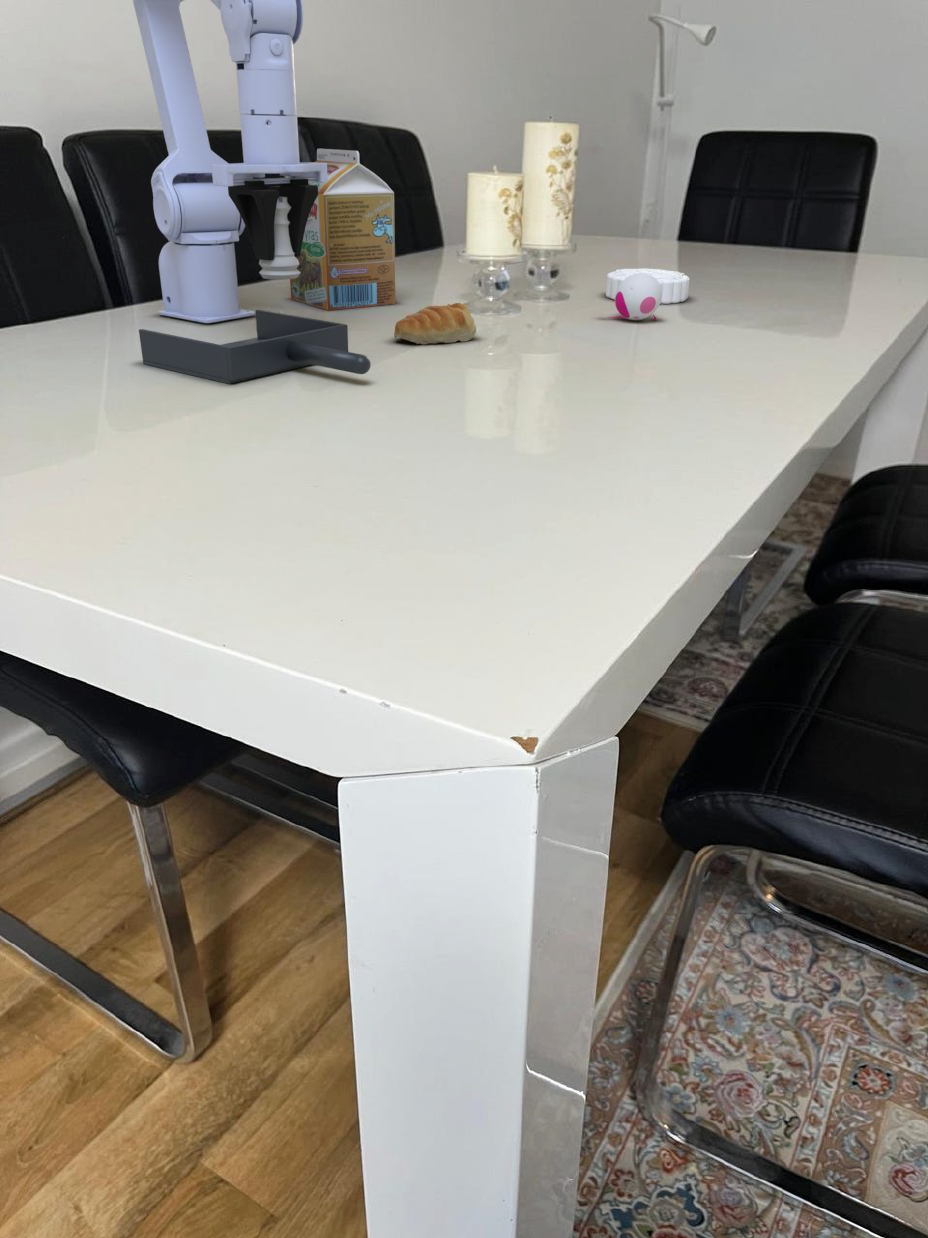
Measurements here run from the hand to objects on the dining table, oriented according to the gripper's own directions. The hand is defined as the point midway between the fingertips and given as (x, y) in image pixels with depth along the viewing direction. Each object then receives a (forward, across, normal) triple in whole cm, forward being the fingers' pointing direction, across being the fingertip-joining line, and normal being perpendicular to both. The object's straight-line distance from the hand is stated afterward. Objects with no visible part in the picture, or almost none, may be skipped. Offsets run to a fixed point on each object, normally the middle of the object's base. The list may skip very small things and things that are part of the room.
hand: (278, 257), depth 104 cm
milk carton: (+9, +26, +14) cm, 31 cm away
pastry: (+9, +13, -12) cm, 20 cm away
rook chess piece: (+2, 0, 0) cm, 2 cm away
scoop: (+9, -9, -9) cm, 15 cm away
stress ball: (+9, +40, -23) cm, 47 cm away
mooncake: (+9, +58, -16) cm, 61 cm away
